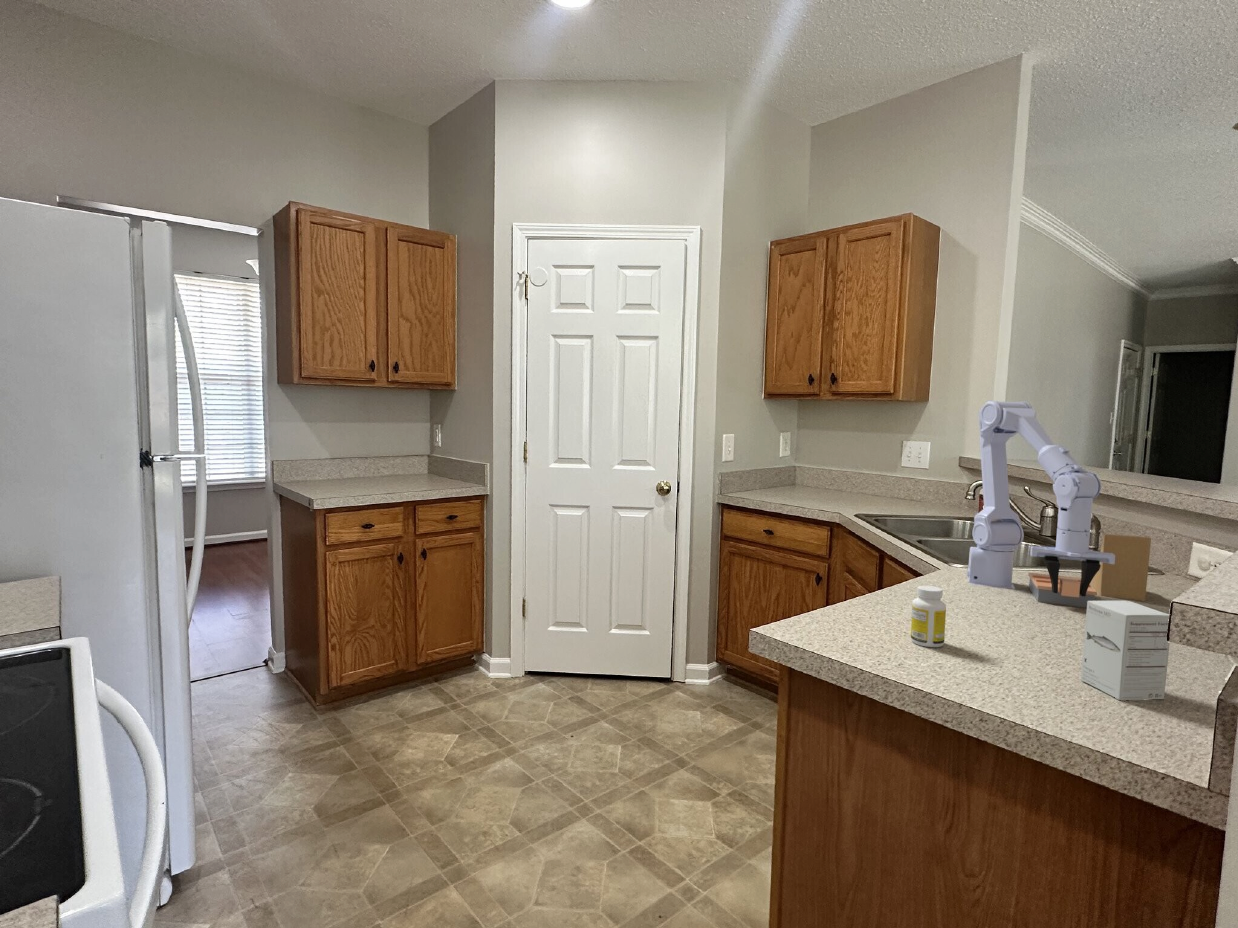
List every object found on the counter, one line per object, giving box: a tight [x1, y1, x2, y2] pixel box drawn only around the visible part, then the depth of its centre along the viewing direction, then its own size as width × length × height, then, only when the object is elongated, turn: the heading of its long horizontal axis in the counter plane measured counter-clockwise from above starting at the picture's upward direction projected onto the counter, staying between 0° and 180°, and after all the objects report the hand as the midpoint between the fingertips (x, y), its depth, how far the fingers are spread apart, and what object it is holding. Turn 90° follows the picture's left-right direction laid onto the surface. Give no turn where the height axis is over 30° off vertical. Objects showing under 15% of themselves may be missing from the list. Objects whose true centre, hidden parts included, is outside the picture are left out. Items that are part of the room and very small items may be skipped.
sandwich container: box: [1090, 533, 1152, 602], centre depth 155 cm, size 9×15×15 cm, turn 153°
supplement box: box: [1080, 600, 1171, 701], centre depth 98 cm, size 7×7×13 cm
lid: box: [1027, 572, 1098, 597], centre depth 145 cm, size 11×18×3 cm, turn 155°
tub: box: [1028, 578, 1095, 609], centre depth 147 cm, size 10×13×4 cm
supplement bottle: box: [910, 585, 947, 648], centre depth 117 cm, size 5×5×10 cm
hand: (1068, 593), depth 139 cm, fingers open, 4 cm apart
